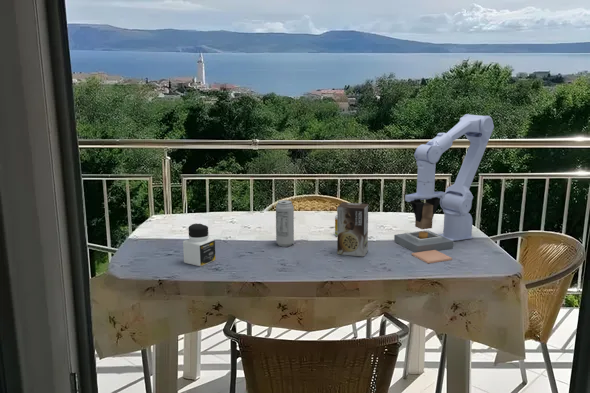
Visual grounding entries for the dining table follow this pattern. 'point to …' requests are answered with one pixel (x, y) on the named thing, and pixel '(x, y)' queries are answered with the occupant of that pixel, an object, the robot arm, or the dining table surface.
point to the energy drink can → (284, 223)
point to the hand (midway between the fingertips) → (424, 220)
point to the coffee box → (352, 229)
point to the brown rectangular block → (425, 217)
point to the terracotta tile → (431, 256)
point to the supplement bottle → (336, 225)
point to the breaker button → (423, 234)
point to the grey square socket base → (423, 241)
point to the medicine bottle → (199, 246)
